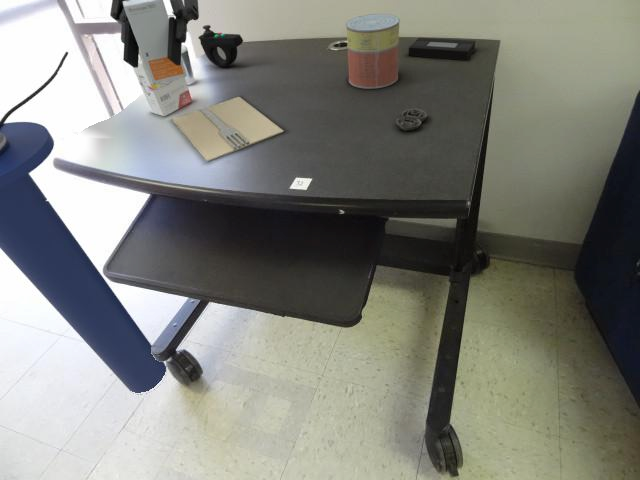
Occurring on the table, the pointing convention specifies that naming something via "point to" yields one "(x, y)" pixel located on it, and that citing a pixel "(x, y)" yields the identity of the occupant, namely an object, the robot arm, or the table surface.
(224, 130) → the fork
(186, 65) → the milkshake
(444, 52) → the vhs tape
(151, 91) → the ink cartridge box
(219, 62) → the controller
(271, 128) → the placemat
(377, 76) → the canned food
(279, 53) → the table surface
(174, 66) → the cosmetic box
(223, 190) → the table surface
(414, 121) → the corroded twin loop
